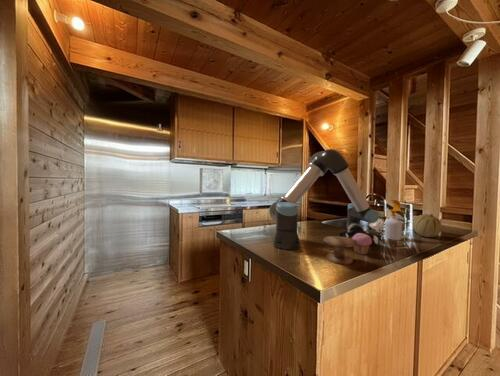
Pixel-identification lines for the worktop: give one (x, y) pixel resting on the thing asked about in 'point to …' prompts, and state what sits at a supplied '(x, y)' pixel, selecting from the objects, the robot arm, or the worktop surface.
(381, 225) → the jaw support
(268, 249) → the worktop surface
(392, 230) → the soap bottle
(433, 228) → the cantaloupe
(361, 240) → the cupcake
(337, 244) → the cake stand
